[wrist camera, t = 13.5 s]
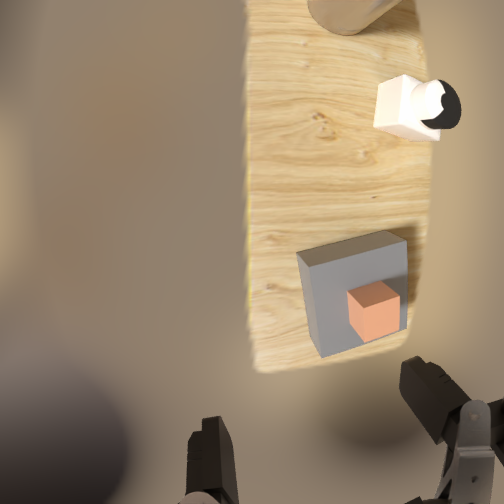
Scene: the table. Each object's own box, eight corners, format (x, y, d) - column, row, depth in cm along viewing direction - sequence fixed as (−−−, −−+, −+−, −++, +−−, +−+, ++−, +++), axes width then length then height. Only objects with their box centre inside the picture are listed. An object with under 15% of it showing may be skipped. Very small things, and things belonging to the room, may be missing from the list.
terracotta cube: (347, 290, 37) (363, 308, 32) (380, 280, 37) (399, 295, 33) (349, 323, 39) (364, 342, 34) (381, 312, 39) (399, 329, 34)
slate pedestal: (296, 252, 41) (308, 267, 36) (384, 230, 42) (406, 240, 36) (310, 336, 46) (321, 358, 40) (388, 310, 46) (406, 328, 41)
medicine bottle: (416, 99, 37) (468, 89, 25) (411, 142, 39) (465, 141, 27) (377, 83, 36) (427, 64, 24) (372, 127, 37) (423, 120, 26)
